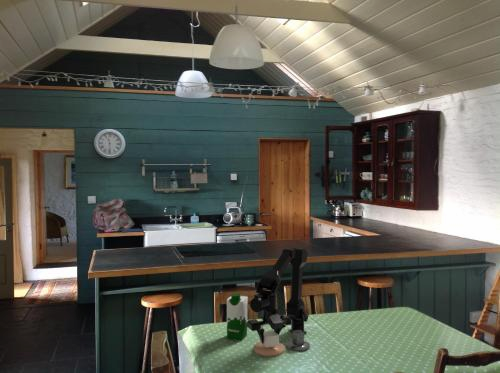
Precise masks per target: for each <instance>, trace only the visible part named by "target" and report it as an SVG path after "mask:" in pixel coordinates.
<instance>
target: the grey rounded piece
mask: <svg viewBox="0 0 500 373" xmlns="http://www.w3.org/2000/svg"><path fill="white" fill-rule="evenodd" d="M291 336H292V337H291V338H292V339H291V340H288V341H287V342H286V344H285V345H286V349H288V350H289V351H294V352H307V351H309V350H310V348H311V343H310V342H308V341H307V340H305V334H304V332H303V331H301V330H295V331H293V334H292V335H291Z"/></svg>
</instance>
